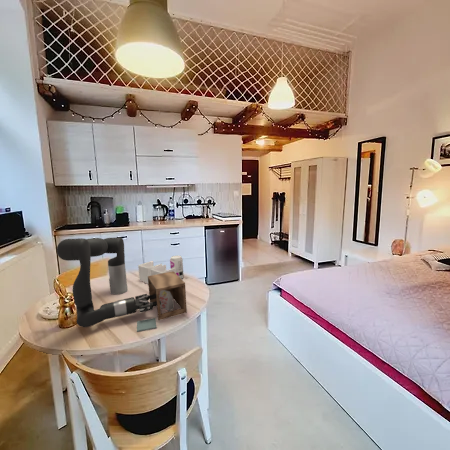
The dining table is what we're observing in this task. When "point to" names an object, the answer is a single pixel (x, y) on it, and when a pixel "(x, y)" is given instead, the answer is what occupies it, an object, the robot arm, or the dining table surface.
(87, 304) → the robot arm
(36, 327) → the dining table surface
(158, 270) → the storage container
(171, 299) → the tea bag
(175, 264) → the supplement can
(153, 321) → the mat
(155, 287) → the hutch
